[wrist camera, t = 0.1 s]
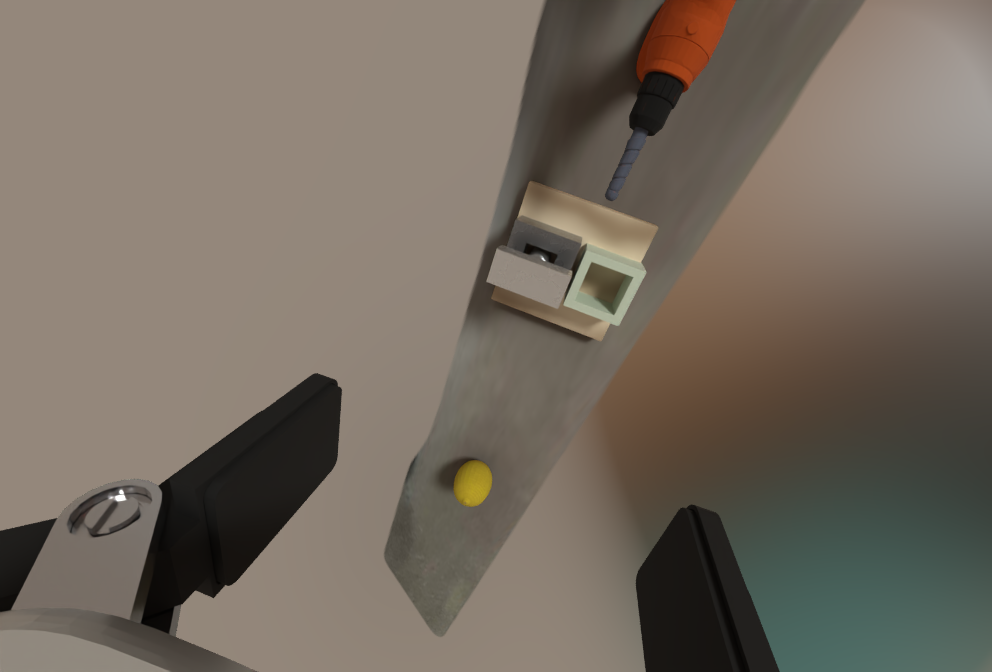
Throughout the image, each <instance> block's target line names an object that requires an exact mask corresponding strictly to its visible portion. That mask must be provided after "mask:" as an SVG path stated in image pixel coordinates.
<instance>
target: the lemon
mask: <svg viewBox="0 0 992 672" xmlns="http://www.w3.org/2000/svg"><path fill="white" fill-rule="evenodd" d="M491 486H492V474H491V471H490V469H489V467H488V466H487V465H486V464H485V463H483V462H481V461H478V460H472V461H468V462H466V463H465V464H463V465H462V466H461V467H460V469H459V470H458V472H457V474H456V476H455V480H454V494H455V497H456V499H457V500H458V501H459V502H460V503H461V504H463V505H465V506H469V507H473V506H477V505H479V504H480V503H482V502H483V501H484V500H485V498H486V497H487V495H488V494H489V491H490V489H491Z"/></svg>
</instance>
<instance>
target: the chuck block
mask: <svg viewBox="0 0 992 672" xmlns="http://www.w3.org/2000/svg"><path fill="white" fill-rule="evenodd" d="M529 244H531V245H533V246H536V247H539V248H542V249H544V250H547V251H550V252H552V253H555V254H558V255H557V257H556V260H555V262H554V265H557V266H560V267H563V268H565V269H568V270H571V268H572V266H573V263H574V261H575V258H576V256H577V254H578V251H579V249H580V246H581V244H582V237H580V236H578V235H575V234H572V233H570V232H567V231H564V230H561V229H559V228H556V227H553V226H550V225H548V224H545V223H542V222H539V221H537V220H534V219H531V218H528V217H526V216H523V215H521V216H520V217H518V218H517V219H516V220H515V223H514V226H513V229H512V232H511V235H510V238H509V241H508V244H507V247H509V248H512V249H514V250H517V251H520V252H522V253H525V254H526V251H527V249H528V246H529Z"/></svg>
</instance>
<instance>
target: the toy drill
mask: <svg viewBox="0 0 992 672" xmlns="http://www.w3.org/2000/svg"><path fill="white" fill-rule="evenodd" d="M735 2H736V0H666V1H665V2H664V4H663V5H662V7H661V8H660V10H659V11H658V13H657V15H656V17H655V19H654V21H653V23H652V25H651V27H650V29H649V31H648V33H647V36H646V38H645V40H644V43H643V45H642V48H641V50H640V53H639V56H638V60H637V67H636V72H637V76H638V78H639V80H640V82H641V83H642V84H641V86H640V88H639V91H638V94H637V97H638V98H637V100H636V102H635V104H634V107H633V109H632V111H631V113H630V116H629V125H630V128H631V129H632V130H634V131H633V134H632V136H631V138H630V139H629V140H628V142H627V145H626V148H625V152H624V154H623V156H622V158H621V160H620V162H619V165H618V168H617V169H616V171H615V173H614V175H613V178H612V181H611V182H610V184H609V187H608V189H607V191H606V194H605V197H606V199H608V200H610V201H614V200H615V199H616V198H617V197H618V192H619V190H620V189H621V188H622V186H623V184H624V182H625V180H626V179H625V178H626V177H627V176H628V174H629V172H630V170H631V168H632V164H633V163H634V162H635V160H636V158H637V157H638V155H639V151H640V150H641V149H642V147H643V145H644V144H645V142H646V140H645V139H646V137H647V136H653V135H655V134H656V133H657V132H658V131H659V130H661V129H662V128H663V126H664V124H665V122H666V120H667V118H668V115H669V113H670V111H671V110H672V109H674V107H675V106H676V104H677V102H678V100H679V98H680V96H681V94H682V93H683V92H685V91H687V90H688V88H689V86H690V85H691V83H692V82H693V81H694V80H695V78H696V77H697V76H698V75H699V74H700V72H701V71H702V70H703V69H704V68H705V66H706V65H707V63H708V61H709V60H710V58H711V56H712V54H713V52H714V50H715V48H716V46H717V44H718V42H719V40H720V38H721V36H722V34H723V31H724V29H725V25H726V22H727V19H728V16H729V13H730V12H731V10H732V8H733V6H734V4H735Z"/></svg>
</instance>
